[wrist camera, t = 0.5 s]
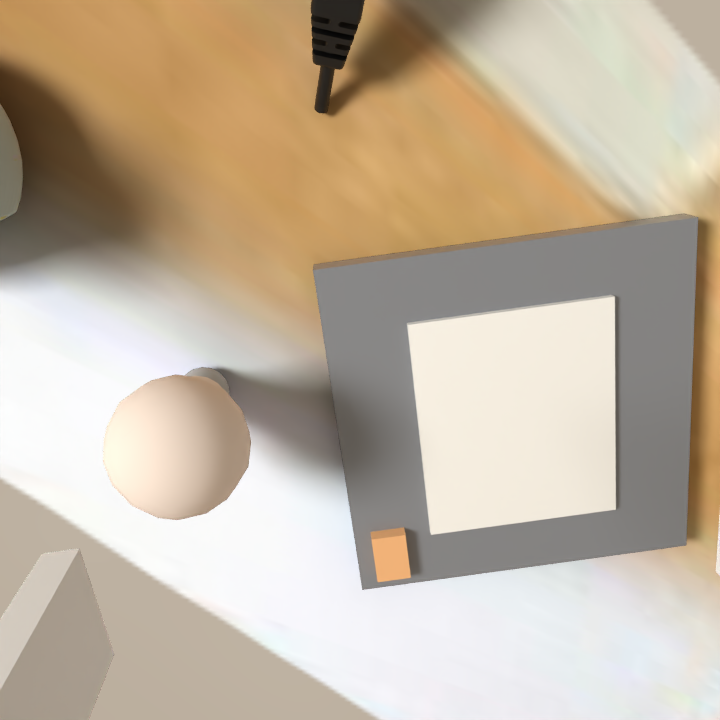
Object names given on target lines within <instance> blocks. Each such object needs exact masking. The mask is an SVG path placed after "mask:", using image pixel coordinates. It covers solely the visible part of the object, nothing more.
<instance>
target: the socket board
mask: <svg viewBox="0 0 720 720" xmlns="http://www.w3.org/2000/svg"><path fill="white" fill-rule="evenodd" d="M697 232H698V217H695V216H691V215H687V214H677V215H670V216H663V217H655V218H648V219H641V220H634V221H626V222H619V223H612V224H604V225H597V226H590V227H583V228H575V229H568V230H561V231H553V232H546V233H539V234H532V235H524V236H517V237H510V238H502V239H495V240H488V241H481V242H473V243H466V244H459V245H451V246H444V247H437V248H430V249H422V250H415V251H408V252H400V253H393V254H386V255H378V256H371V257H364V258H357V259H349V260H342V261H335V262H327V263H320V264H314V266H313V273H314V279H315V285H316V292H317V298H318V305H319V311H320V318H321V324H322V331H323V337H324V344H325V350H326V357H327V363H328V370H329V376H330V383H331V389H332V395H333V402H334V408H335V415H336V421H337V428H338V434H339V441H340V447H341V454H342V460H343V467H344V473H345V480H346V486H347V493H348V499H349V506H350V512H351V518H352V525H353V531H354V538H355V544H356V551H357V557H358V564H359V570H360V577H361V583H362V590H364V589H372V588H379V587H386V586H394V585H401V584H408V583H416V582H423V581H430V580H438V579H445V578H452V577H459V576H467V575H474V574H481V573H489V572H496V571H503V570H511V569H518V568H525V567H532V566H540V565H547V564H554V563H562V562H569V561H576V560H584V559H591V558H598V557H605V556H613V555H620V554H627V553H635V552H642V551H649V550H657V549H664V548H671V547H678V546H686V539H687V511H688V483H689V455H690V427H691V400H692V372H693V344H694V316H695V288H696V260H697Z"/></svg>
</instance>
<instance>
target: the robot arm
mask: <svg viewBox="0 0 720 720" xmlns="http://www.w3.org/2000/svg"><path fill="white" fill-rule="evenodd" d="M716 572H717V574H718V575H719V576H720V517H719V532H718V547H717V562H716ZM113 656H114V652H113V649H112V646H111V643H110V640H109V637H108V634H107V631H106V628H105V625H104V621H103V618H102V615H101V612H100V609H99V606H98V603H97V600H96V597H95V594H94V591H93V588H92V585H91V582H90V579H89V576H88V573H87V570H86V567H85V563H84V560H83V557H82V554H81V551H80V549H71V550H64V551H57V552H50V553H43V554H41V556H40V558H39V559H38V561H37V562H36V564H35V565H34V567H33V569H32V570H31V572H30V573H29V575H28V576H27V578H26V579H25V581H24V583H23V584H22V586H21V587H20V589H19V590H18V592H17V594H16V595H15V597H14V598H13V600H12V602H11V603H10V605H9V606H8V608H7V609H6V611H5V612H4V614H3V616H2V617H1V619H0V720H89V718H90V716H91V713H92V710H93V708H94V705H95V703H96V700H97V698H98V695H99V692H100V690H101V687H102V685H103V682H104V680H105V677H106V674H107V672H108V669H109V666H110V664H111V662H112V659H113Z"/></svg>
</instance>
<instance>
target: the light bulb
mask: <svg viewBox="0 0 720 720" xmlns="http://www.w3.org/2000/svg"><path fill="white" fill-rule="evenodd" d="M250 446H251V440H250V434H249V430H248V427H247V424H246V421H245V418H244V415H243V412H242V409H241V408H240V407H239V406H238V405H237V404H236V402H235V401H234V400H233V399H232V398H231V397H230V395H229V386H228V383H227V380H226V379H225V378H224V377H223V376H222V374H221V373H219V372H217V371H216V370H214V369H212V368H204V367H201V368H197V369H193V370H191V371H190V372H188V373H187V374H186V375H185V376H182V375H172V376H168V377H164V378H159V379H155V380H152V381H150V382H148V383H146V384H144V385H143V386H141V387H140V388H138V389H137V390H136V391H134V392H133V393H132V394H130V395H129V396H128V397H126V398H125V399H123V400H122V401H121V402H120V403H119V404H118V406H117V408H116V410H115V412H114V414H113V416H112V418H111V419H110V421H109V423H108V425H107V429H106V433H105V437H104V449H103V463H104V466H105V468H106V471H107V473H108V476H109V478H110V481H111V483H112V485H113V486H114V488H115V489H116V490H117V491H118V492H119V493H120V494H121V495H122V496H123V497H124V498H125V499H126V500H127V501H128V502H129V503H130V504H131V505H132V506H134V507H136V508H138V509H140V510H142V511H144V512H146V513H149V514H151V515H153V516H155V517H157V518H163V519H172V520H180V519H185V518H189V517H193V516H197V515H201V514H206V513H207V512H209V511H210V510H212V509H213V508H215V507H216V506H218V505H219V504H221V503H222V502H224V501H225V500H227V498H228V497H229V496H230V494H231V493H232V492H233V490H234V489H235V487H236V486H237V484H238V483H239V481H240V479H241V478H242V476H243V474H244V473H245V471H246V469H247V468H248V465H249V455H250Z"/></svg>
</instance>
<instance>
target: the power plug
mask: <svg viewBox="0 0 720 720" xmlns="http://www.w3.org/2000/svg"><path fill="white" fill-rule="evenodd" d="M364 1H365V0H312V2H311V13H312V17H311V24H312V37H313V38H312V47H313V51H312V54H313V63H314V64H316V65H320V66H321V67H320V74H319V81H318V87H317V94H316V101H315V110H316V111H317V112H318V113H326V112H327V111H328V106H329V100H330V94H331V88H332V82H333V76H334V70H335V69H342V68H343V67H344V64H345V61H346V59H347V55H348V53H349V50H350V46H351V45H352V42H353V39H354V35H355V34H356V31H357V28H358V24H359V23H360V20H361V16H362V11H363V6H364Z"/></svg>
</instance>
